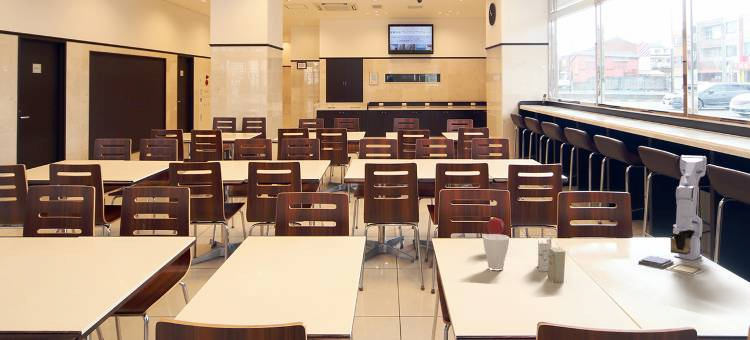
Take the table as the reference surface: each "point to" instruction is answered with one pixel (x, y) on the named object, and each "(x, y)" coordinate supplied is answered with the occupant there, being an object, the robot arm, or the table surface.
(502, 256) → the cup
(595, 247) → the table surface
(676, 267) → the marked card
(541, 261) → the gray blocky tower
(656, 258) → the ink pad
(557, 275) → the skincare box
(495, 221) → the lollipop
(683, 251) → the brown rectangular block
